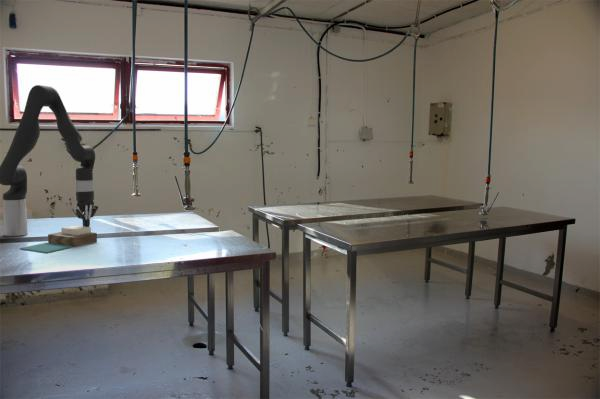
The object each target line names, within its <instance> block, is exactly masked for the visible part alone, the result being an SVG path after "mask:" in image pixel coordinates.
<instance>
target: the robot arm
mask: <svg viewBox="0 0 600 399" xmlns="http://www.w3.org/2000/svg"><path fill="white" fill-rule="evenodd" d="M44 107H46V108H47V107H48V108H49V109H50V111H51V112H52V113H53V114H54V116H55V119H56V127H57V130H58V132H59V135H61V137H62V138H63V140H64V141H65V144H66V145H67V149H68V152H69V155H70V156H71V158H72V159H73V160H74V161H75V162H78V163H80V165H79V167H76V169H75V200H76V201H77V202H76V206H75V208H72V212H73V214H74V215H75V216H76V217H77V218H78V219H81V220H82V226H85V227H91V219H92V218H94V217H95V215H96V213H97V211H98V210H99V205H95V201H94V200H95V190H94V189H95V186H94V179H93V178H94V177H93V176H94V174H93V171H94V167H95V161H96V152H95V149H93V148H92V147H91V146H88V145H86V146H85V145H82V144H81V142H82V140H83V137H82V134H81V133H80V132H79V131H78V129H77V127H76V126H75V125H74V123H73V121H72V119H71V117H70V115H69V114H68V112H67V110H66V107H65V105H64V103H63V100H62V97H61V96H60V93H59V92H58V90H57V89H56V88H54V87H52V86H48V85H40V84H38V85H37V84H36V85H34V86H32V87H31V88H30V90H29V92H28V96H27V99H26V103H25V107H24V110H23V112H22V116H21V119H20V121H19V125H18V127H17V128H16V131H15V134H14V136H13V139H12V141H11V144H10V146H9V148H8V151H7V153H6V155H5V156H4V158H3V160H2V162H1V164H0V185H1V186H10V188H9V189H8V190H7V191H6V192H4V193H3V194H2V203H3V205H2V206H3V215H2V220H3V221H2V223H3V224H2V225H3V234H4V236H6V237H19V236H24V235H28V216H27V199H26V197H27V193H28V174H27V171H26V168H25V167H24V166H22V165H19V164H20V162H21V161H22V160H23V159H24V158H25V157H26V156H27V155H28V154H30V153H31V152H32V151H33V149H34V148H35V147H36V145H37V143H38V140H39V138H40V135H41V128H40V123H39V118H40V117H39V116H40V114H41V111H42V110H43V108H44Z"/></svg>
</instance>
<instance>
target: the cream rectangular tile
mask: <svg viewBox="0 0 600 399" xmlns="http://www.w3.org/2000/svg"><path fill="white" fill-rule="evenodd" d="M61 232H62V233H63V234H71V235H82V234H87V233H91V232H92V228H91V226H89V227H85V226H83V225H69V226H64V227H61Z"/></svg>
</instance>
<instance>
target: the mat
mask: <svg viewBox="0 0 600 399" xmlns="http://www.w3.org/2000/svg"><path fill="white" fill-rule="evenodd" d="M72 248H74V247H73V246H67V245H60V244H52V243H48V242H43V243H38V244H33V245H28V246H23V247H20V248H19V249H20V250H23V251H29V252H36V253H43V254H49V253H54V252H59V251H63V250H68V249H72Z"/></svg>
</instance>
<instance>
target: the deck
mask: <svg viewBox="0 0 600 399" xmlns="http://www.w3.org/2000/svg"><path fill="white" fill-rule="evenodd" d="M97 234H98V233H97V232H92V231H91V233H87V234H82V235H71V234H63V233H62V231H59V232H54V233H48V235H47V239H48V240H47V243H52V244H60V245H67V246H73V247H72V248H75V247H76V248H77V247H81V246H85V245H88V244H93V243H97V242H98V235H97Z"/></svg>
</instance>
